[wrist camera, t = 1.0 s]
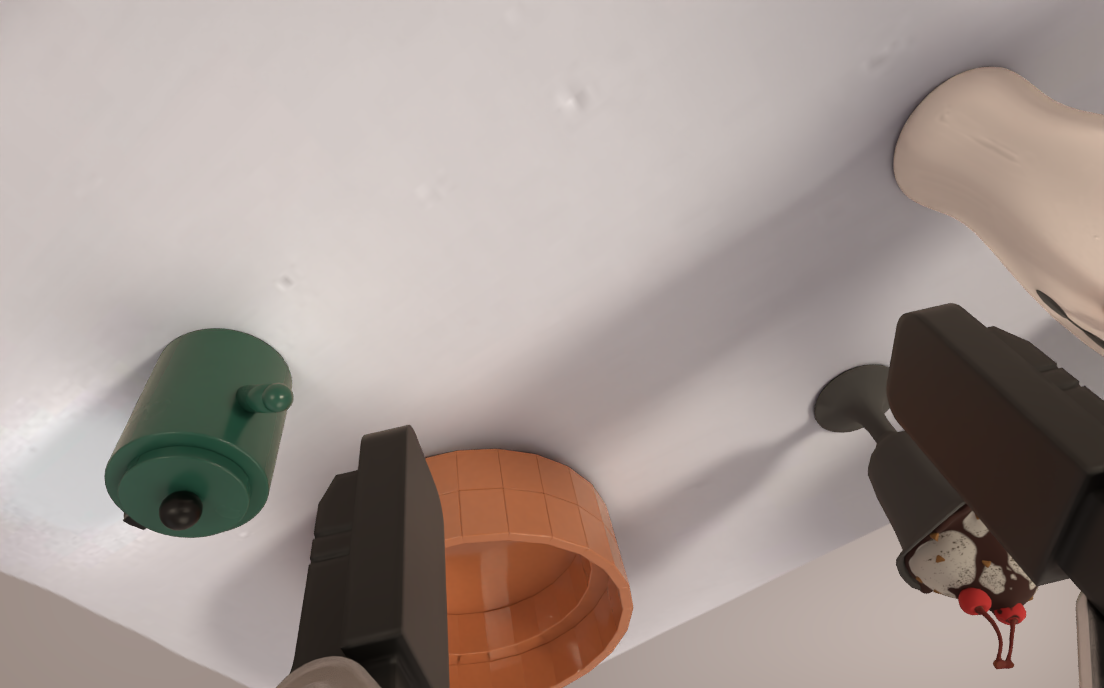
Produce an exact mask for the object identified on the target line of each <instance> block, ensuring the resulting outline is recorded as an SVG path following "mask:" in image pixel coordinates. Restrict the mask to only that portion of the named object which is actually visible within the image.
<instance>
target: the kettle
mask: <svg viewBox="0 0 1104 688" xmlns="http://www.w3.org/2000/svg"><path fill="white" fill-rule="evenodd" d="M292 403H293V392H292V378H291V374H290V371H289V368H288V366H287V364H286V363H285V361H284V359H283V358H282V357H281V356H280V355H279V353H278V352H277V351H276V350H274V349H273V348H272V347H271V346H269V345H268V344H267V343H265V342H264V341H262V340H260V339H258V338H256V337H254V336H252V335H249V334H246V333H243V332H239V331H235V330H229V329H217V328H213V329H202V330H197V331H193V332H190V333H187V334H185V335H183V336H180V337H179V338H177V339H175V340H174V341H172V342H171V343H170V344H169V345H168V346H167V347H166V348H165V349H164V350H163V352H162V353H161V355H160V357H159V359H158V361H157V363H156V365H155V367H154V369H153V371H152V373H151V375H150V377H149V379H148V381H147V384H146V386H145V388H144V390H143V392H142V394H141V396H140V398H139V400H138V402H137V404H136V406H135V408H134V410H133V412H132V414H131V416H130V418H129V420H128V422H127V425H126V427H125V429H124V431H123V433H122V435H121V437H120V439H119V441H118V443H117V445H116V447H115V449H114V451H113V453H112V455H111V457H110V459H109V461H108V464H107V466H106V469H105V485H106V488H107V491H108V493H109V495H110V497H111V499H112V500H113V501H114V503H115V504H116V505H117V506H118V507H119V508H120V509H121V510H122V511H123V512H124V520H123V521H124V522H126V523H128V524H129V525H132V526H135V527H138V528H140V529H142V530H144V529H146V528H148V529H150V530H152V531H155V532H158V533H161V534H164V535H169V536H175V537H185V538H195V537H206V536H211V535H215V534H218V533H221V532H225V531H228V530H232V529H234V528H237V527H239V526H241V525H243V524H245V523H247V522H248V521H250V520H251V519H252V518H254V517H255V516H256V515H257V514H258V513H259V512H260V511H261V509H262V508H263V507H264V505H265V503H266V501H267V498H268V495H269V490H270V486H271V481H272V477H273V472H274V468H275V463H276V459H277V454H278V449H279V445H280V440H281V436H282V431H283V427H284V422H285V417H286V413H287V409H288V408H289V407H290V406H291V405H292Z"/></svg>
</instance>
